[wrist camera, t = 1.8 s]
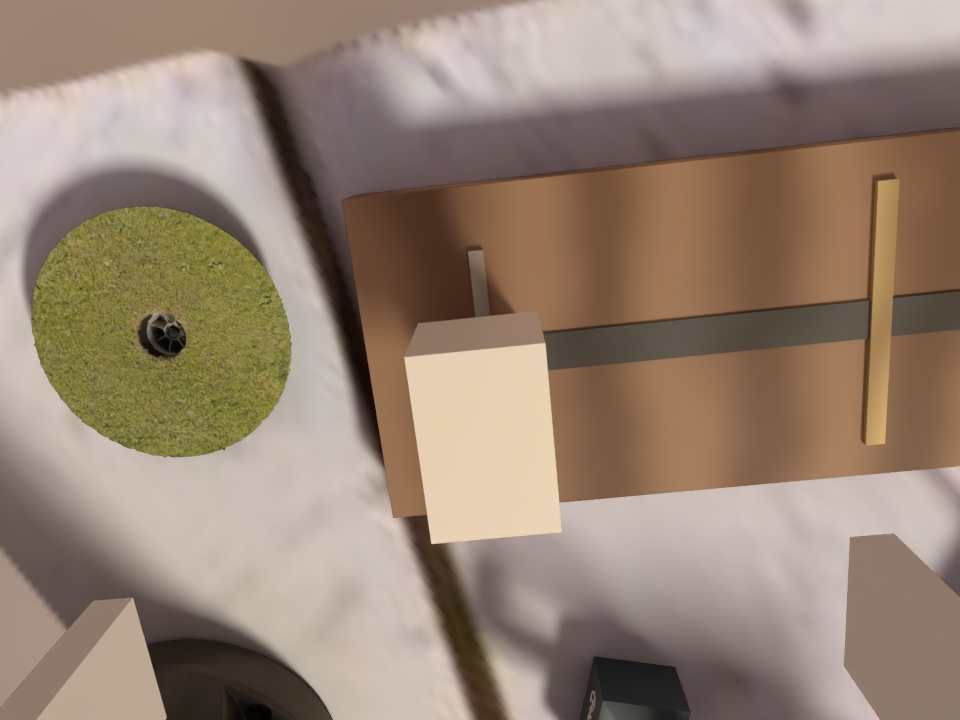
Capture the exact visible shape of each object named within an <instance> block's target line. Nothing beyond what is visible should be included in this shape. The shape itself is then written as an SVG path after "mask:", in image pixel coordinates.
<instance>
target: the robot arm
mask: <svg viewBox="0 0 960 720" xmlns="http://www.w3.org/2000/svg"><path fill="white" fill-rule="evenodd" d="M844 667H845V668H846V670H847V671H848V673H849V674H850V676H851V677H852V679H853V680H854V682H855V683H856V685H857V686H858V687H859V689H860V690H861V692H862V693H863V695H864V696H865V698H866V699H867V701H868V702H869V704H870V705H871V707H872V708H873V710H874V711H875V713H876V714H877V716H878V717H879V719H880V720H960V597H959V596H958V595H957V594H956V593H955V592H954V591H953V590H952V589H951V588H949V587H948V586H947V585H946V584H945V583H944V582H943V581H942V580H941V579H940V578H939V577H938V576H937V575H936V574H935V573H934V572H933V571H932V570H931V569H930V568H929V567H928V566H927V565H926V564H925V563H924V562H923V561H922V560H921V559H920V558H919V557H918V556H917V555H915V554H914V553H913V552H912V551H911V550H910V549H909V548H908V547H907V546H906V545H905V544H904V543H903V542H902V541H901V540H900V539H899V538H898V537H897V536H896V535H895V534H883V535H871V536H859V537H850V549H849V570H848V592H847V613H846V634H845V656H844ZM0 720H332V719H331V717H330V715H329V713H328V712H327V710H326V709H325V707H324V706H323V704H322V703H321V701H320V700H319V699H318V698H317V696H316V695H315V694H314V693H313V692H312V691H311V690H310V689H309V688H308V687H307V686H306V685H305V684H304V683H303V682H302V681H301V680H300V679H298V678H297V677H296V676H295V675H293V674H292V673H291V672H289V671H288V670H286V669H285V668H283V667H282V666H280V665H279V664H277V663H275V662H273V661H272V660H270V659H268V658H266V657H264V656H261V655H259V654H257V653H254V652H252V651H249V650H246V649H243V648H240V647H237V646H233V645H229V644H225V643H220V642H213V641H205V640H173V641H164V642H159V643H154V644H150V645H146V642H145V638H144V635H143V631H142V628H141V624H140V621H139V617H138V614H137V610H136V606H135V603H134V599H133V597H132V598H120V599H109V600H97V601H92V603H91V604H90V605H89V606H88V607H87V608H86V609H85V611H84V612H83V613H82V614H81V615H80V616H79V618H78V619H77V620H76V621H75V622H74V623H73V624H72V626H71V627H70V628H69V629H68V630H67V631H66V632H65V634H64V635H63V636H62V637H61V638H60V639H59V641H58V642H57V643H56V644H55V645H54V646H53V647H52V649H51V650H50V651H49V652H48V653H47V654H46V655H45V657H44V658H43V659H42V660H41V661H40V662H39V664H38V665H37V666H36V667H35V668H34V670H32V672H31V673H30V674H29V675H28V676H27V677H26V678H25V680H24V681H23V682H22V683H21V684H20V685H19V687H18V688H17V689H16V690H15V691H14V692H13V693H12V695H11V696H10V697H9V698H8V699H7V700H6V701H5V703H4V704H3V705H2V706H1V707H0Z"/></svg>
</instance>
